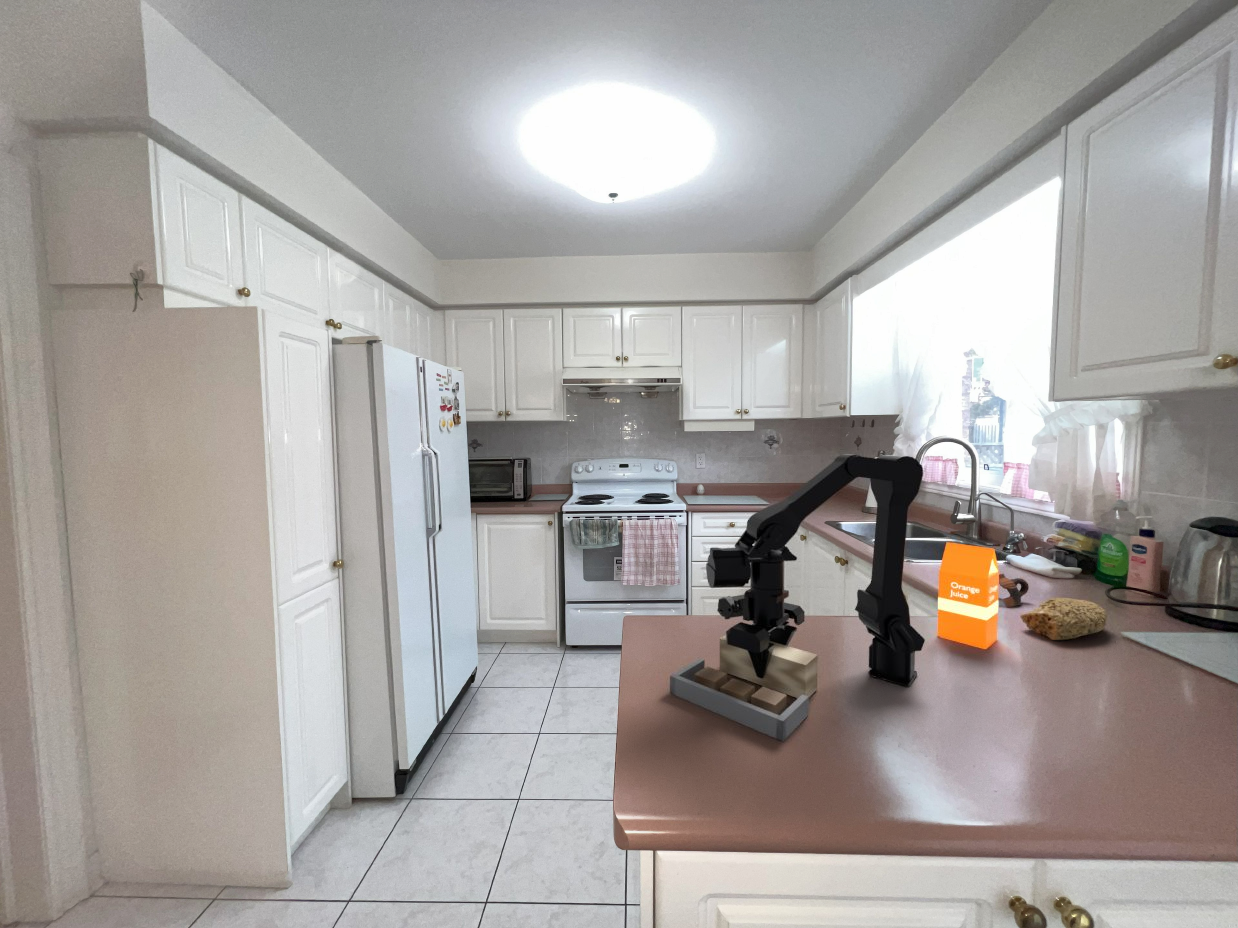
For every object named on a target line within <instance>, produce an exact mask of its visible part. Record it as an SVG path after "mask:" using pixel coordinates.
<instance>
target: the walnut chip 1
mask: <svg viewBox="0 0 1238 928" xmlns="http://www.w3.org/2000/svg"><path fill="white" fill-rule="evenodd" d="M694 682H696V683H698V684H701V685H703V686H706V687H708V688H711V689H714V690H716V691H719V692H720V687H721V686H723V685H724V684H726V683H727V682H728V673H726V672H723V671H720V669H719V670H718V669H716V668H713V667H711V666H705V668H704V669H702V670H700V671H699V672H697V673H696V674H694Z"/></svg>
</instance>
